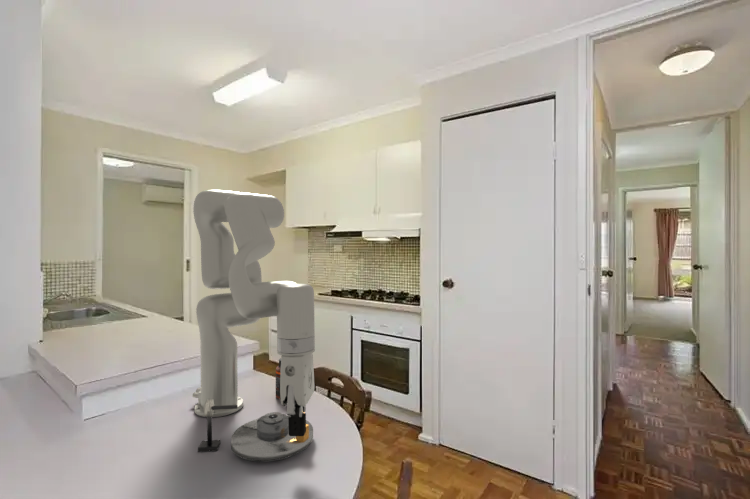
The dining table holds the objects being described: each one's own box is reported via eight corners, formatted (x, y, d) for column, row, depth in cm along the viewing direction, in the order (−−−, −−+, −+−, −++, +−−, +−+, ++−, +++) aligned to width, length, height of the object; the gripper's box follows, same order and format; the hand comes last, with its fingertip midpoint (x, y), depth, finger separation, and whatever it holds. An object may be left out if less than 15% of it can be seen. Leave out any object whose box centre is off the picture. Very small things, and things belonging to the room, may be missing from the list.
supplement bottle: (291, 401, 113) (290, 362, 113) (271, 399, 114) (271, 361, 114) (299, 393, 119) (299, 356, 119) (280, 392, 120) (280, 355, 120)
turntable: (212, 450, 84) (212, 429, 84) (266, 416, 101) (266, 398, 100) (282, 469, 77) (282, 446, 77) (327, 429, 94) (327, 410, 94)
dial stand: (197, 452, 85) (197, 403, 85) (202, 444, 89) (202, 397, 88) (235, 450, 86) (235, 402, 86) (239, 442, 90) (239, 395, 89)
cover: (250, 435, 87) (250, 418, 87) (272, 423, 93) (272, 407, 93) (273, 444, 84) (273, 426, 84) (295, 430, 90) (295, 413, 90)
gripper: (305, 354, 72) (307, 453, 72) (321, 336, 87) (322, 418, 87) (265, 354, 72) (267, 453, 72) (288, 336, 87) (289, 418, 87)
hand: (297, 434), depth 80 cm, fingers closed
